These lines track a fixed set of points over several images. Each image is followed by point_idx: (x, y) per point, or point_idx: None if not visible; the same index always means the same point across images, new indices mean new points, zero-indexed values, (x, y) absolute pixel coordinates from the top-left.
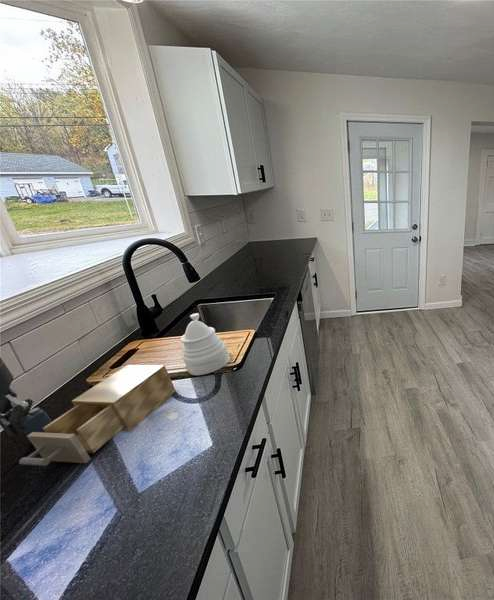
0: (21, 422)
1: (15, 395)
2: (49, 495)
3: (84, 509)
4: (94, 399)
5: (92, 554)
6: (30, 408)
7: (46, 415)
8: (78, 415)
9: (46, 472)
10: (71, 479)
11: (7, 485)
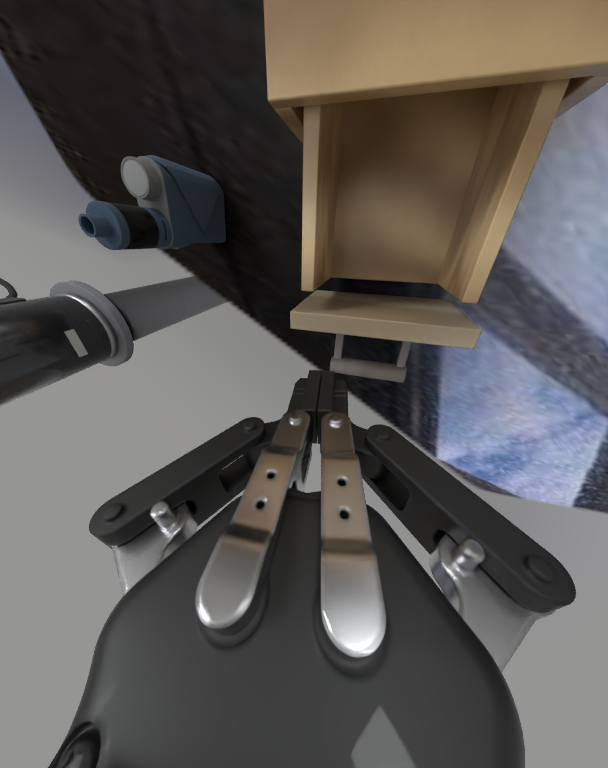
0: (346, 406)
1: (510, 696)
2: (408, 376)
3: (519, 410)
4: (423, 48)
5: (594, 478)
6: (453, 477)
7: (176, 169)
8: (327, 165)
9: None
10: (426, 345)
11: (293, 349)
